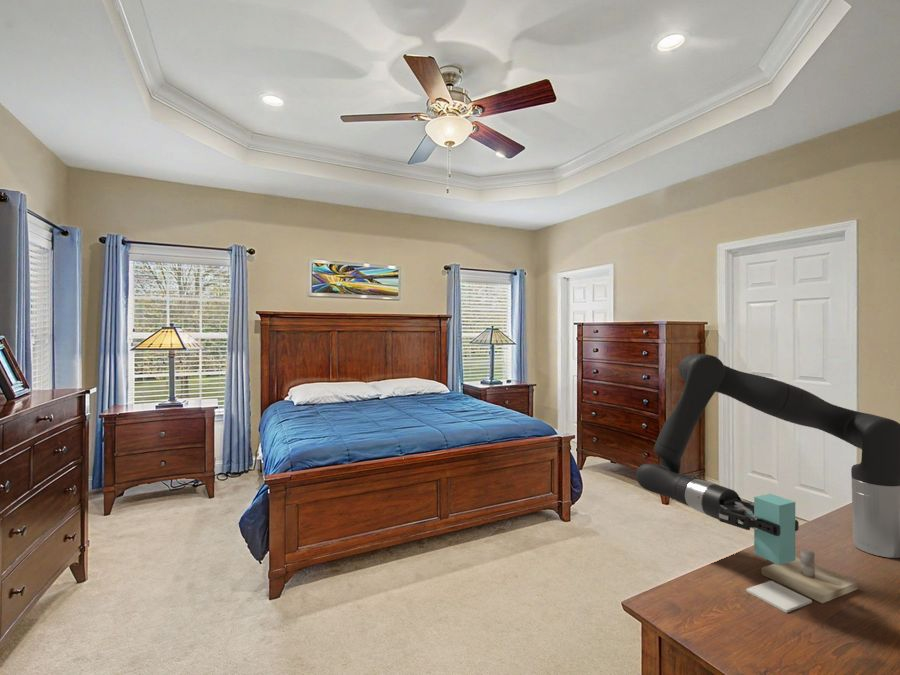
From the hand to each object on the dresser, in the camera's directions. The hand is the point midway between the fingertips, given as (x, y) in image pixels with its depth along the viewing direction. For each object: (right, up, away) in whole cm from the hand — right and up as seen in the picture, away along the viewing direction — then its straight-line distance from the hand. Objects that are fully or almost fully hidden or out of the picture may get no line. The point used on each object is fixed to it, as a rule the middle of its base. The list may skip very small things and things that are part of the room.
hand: (788, 528), depth 90 cm
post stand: (+10, -15, +8) cm, 19 cm away
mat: (0, -15, +2) cm, 15 cm away
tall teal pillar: (-1, -7, +3) cm, 7 cm away
